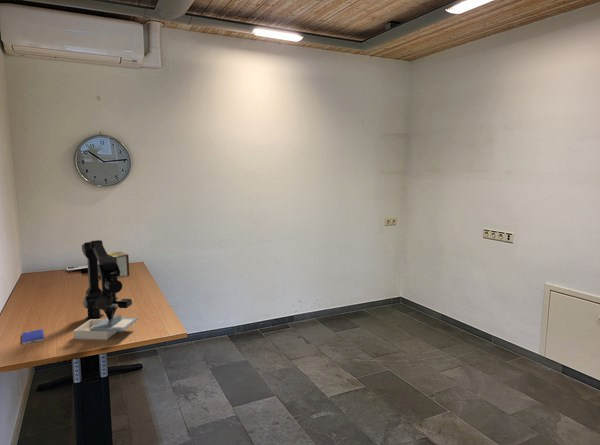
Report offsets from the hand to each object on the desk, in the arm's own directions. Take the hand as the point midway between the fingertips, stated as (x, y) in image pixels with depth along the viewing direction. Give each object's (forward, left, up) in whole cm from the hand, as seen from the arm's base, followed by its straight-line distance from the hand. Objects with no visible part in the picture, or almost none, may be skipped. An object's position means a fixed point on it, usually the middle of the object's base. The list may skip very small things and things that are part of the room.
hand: (110, 321), depth 188 cm
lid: (0, +2, -2) cm, 3 cm away
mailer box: (0, -6, -6) cm, 9 cm away
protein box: (-105, -48, -6) cm, 116 cm away
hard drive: (+6, -33, -7) cm, 34 cm away
